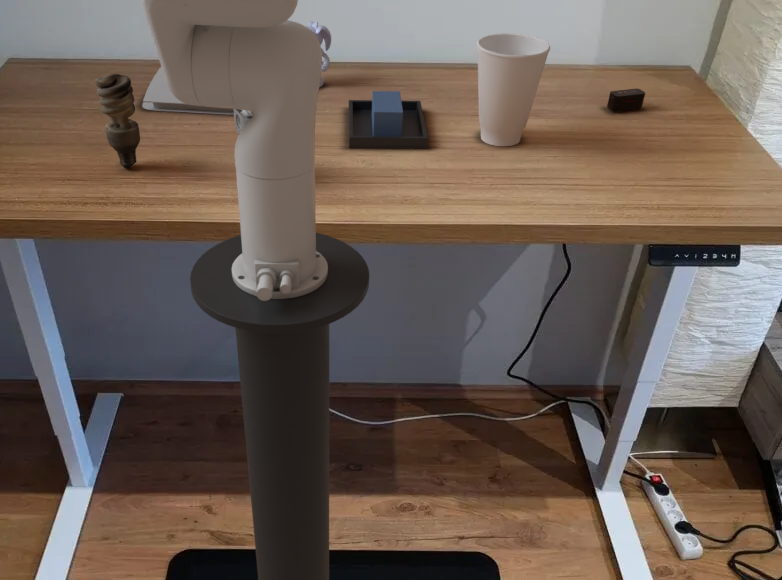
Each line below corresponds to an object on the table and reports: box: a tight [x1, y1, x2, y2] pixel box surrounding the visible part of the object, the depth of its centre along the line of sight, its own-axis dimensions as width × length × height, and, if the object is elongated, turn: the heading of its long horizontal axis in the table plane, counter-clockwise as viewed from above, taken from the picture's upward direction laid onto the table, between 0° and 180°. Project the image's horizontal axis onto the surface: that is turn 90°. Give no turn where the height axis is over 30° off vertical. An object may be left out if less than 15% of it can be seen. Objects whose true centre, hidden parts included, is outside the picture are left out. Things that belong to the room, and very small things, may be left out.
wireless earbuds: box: [606, 88, 646, 114], centre depth 152 cm, size 5×7×3 cm, turn 107°
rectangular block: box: [371, 90, 403, 136], centre depth 143 cm, size 10×5×4 cm, turn 0°
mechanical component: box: [233, 109, 254, 135], centre depth 126 cm, size 3×10×10 cm, turn 24°
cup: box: [476, 32, 551, 147], centre depth 136 cm, size 12×12×16 cm
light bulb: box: [94, 73, 141, 170], centre depth 127 cm, size 6×6×15 cm
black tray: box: [348, 99, 429, 150], centre depth 144 cm, size 17×13×2 cm
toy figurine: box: [306, 20, 332, 88], centre depth 158 cm, size 7×6×12 cm
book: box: [141, 66, 253, 116], centre depth 154 cm, size 15×23×4 cm, turn 83°
